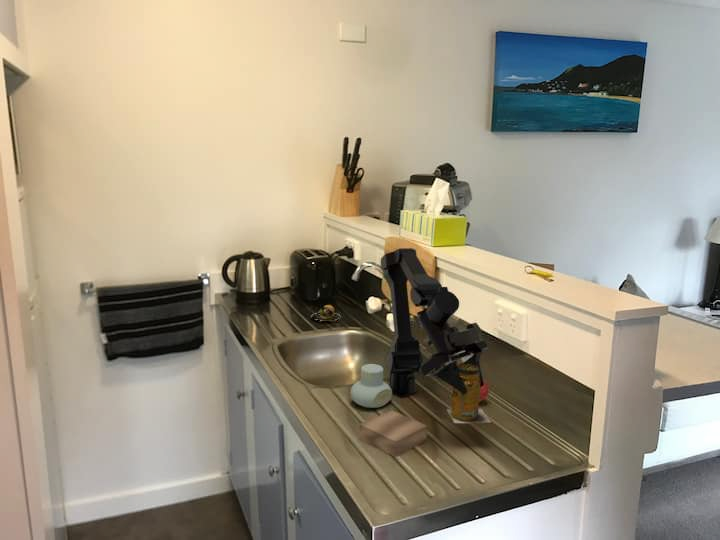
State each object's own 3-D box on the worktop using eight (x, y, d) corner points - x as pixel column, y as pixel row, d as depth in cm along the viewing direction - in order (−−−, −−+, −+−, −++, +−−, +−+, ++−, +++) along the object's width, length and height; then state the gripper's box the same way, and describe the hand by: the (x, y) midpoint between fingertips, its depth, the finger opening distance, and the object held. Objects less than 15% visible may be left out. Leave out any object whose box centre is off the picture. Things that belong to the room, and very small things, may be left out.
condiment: (446, 409, 137) (449, 361, 135) (481, 409, 138) (485, 361, 136) (454, 424, 130) (458, 373, 128) (491, 423, 131) (495, 373, 129)
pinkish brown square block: (359, 440, 135) (359, 424, 134) (390, 425, 143) (391, 410, 142) (395, 458, 128) (395, 441, 127) (426, 441, 135) (427, 425, 135)
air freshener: (368, 415, 147) (369, 377, 145) (345, 404, 153) (346, 368, 151) (396, 402, 155) (397, 366, 153) (373, 393, 160) (374, 358, 158)
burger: (308, 316, 231) (308, 298, 230) (337, 315, 235) (337, 297, 233) (314, 325, 220) (314, 306, 219) (344, 324, 223) (344, 305, 222)
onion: (471, 408, 153) (473, 379, 151) (461, 399, 158) (463, 371, 157) (491, 406, 154) (493, 377, 153) (481, 397, 160) (483, 369, 158)
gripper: (434, 320, 125) (472, 384, 120) (484, 306, 138) (521, 363, 133) (404, 345, 132) (440, 407, 127) (455, 329, 145) (489, 385, 140)
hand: (474, 389), depth 131 cm, fingers closed on condiment, 6 cm apart
